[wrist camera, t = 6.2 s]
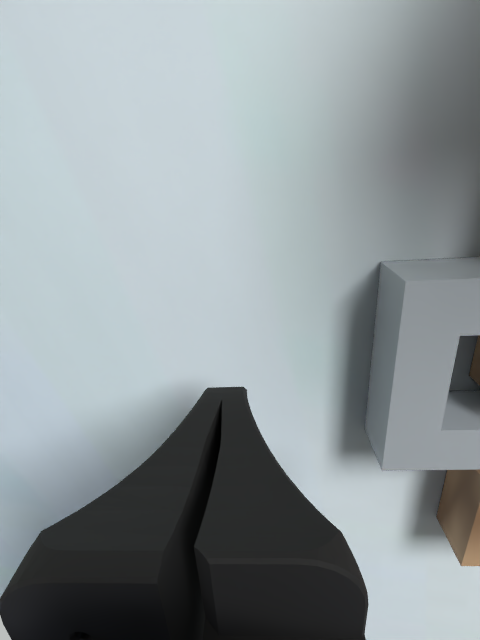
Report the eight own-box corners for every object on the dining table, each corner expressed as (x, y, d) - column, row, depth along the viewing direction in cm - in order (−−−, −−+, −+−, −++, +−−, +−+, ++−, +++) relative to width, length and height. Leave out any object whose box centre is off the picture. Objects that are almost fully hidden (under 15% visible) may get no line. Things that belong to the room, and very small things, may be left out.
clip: (521, 425, 16) (563, 468, 14) (364, 428, 17) (381, 470, 14) (575, 251, 13) (643, 270, 11) (380, 261, 14) (405, 281, 11)
